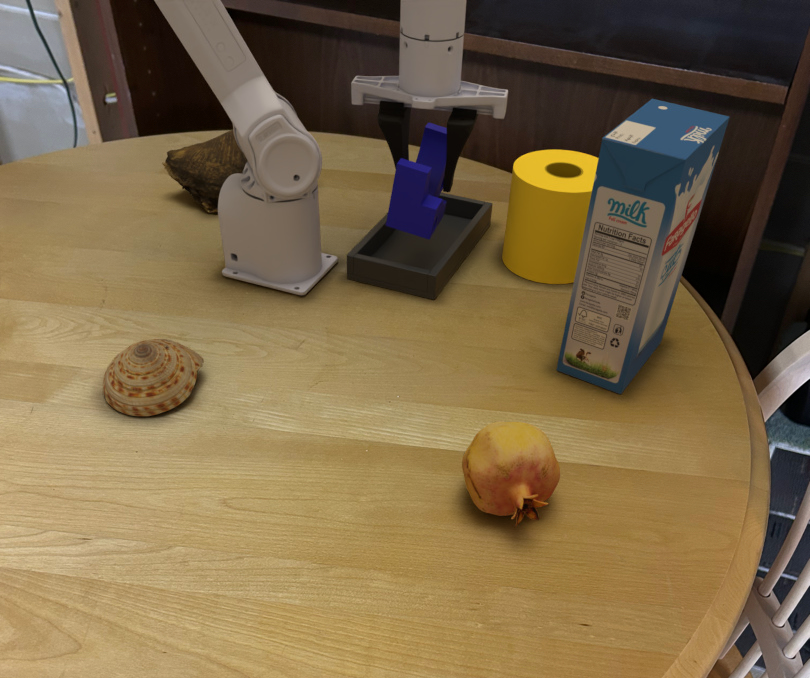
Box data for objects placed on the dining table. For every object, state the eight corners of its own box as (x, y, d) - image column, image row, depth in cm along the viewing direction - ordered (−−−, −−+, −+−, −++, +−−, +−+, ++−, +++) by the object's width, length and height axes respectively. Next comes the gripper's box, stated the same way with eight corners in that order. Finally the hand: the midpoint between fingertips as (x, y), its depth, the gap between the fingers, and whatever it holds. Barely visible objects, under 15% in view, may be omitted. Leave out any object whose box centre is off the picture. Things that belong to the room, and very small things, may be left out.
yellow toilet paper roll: (607, 250, 88) (626, 161, 81) (580, 293, 81) (599, 201, 74) (520, 229, 90) (532, 142, 83) (488, 269, 84) (498, 178, 77)
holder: (346, 278, 82) (346, 254, 80) (412, 208, 93) (412, 186, 91) (434, 300, 80) (435, 276, 78) (490, 225, 91) (492, 202, 89)
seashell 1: (221, 342, 70) (172, 357, 63) (217, 404, 72) (170, 426, 65) (137, 323, 71) (80, 336, 64) (137, 385, 74) (82, 404, 67)
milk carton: (620, 395, 70) (685, 159, 55) (555, 370, 72) (602, 137, 57) (661, 342, 76) (730, 116, 61) (600, 321, 78) (652, 98, 63)
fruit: (440, 403, 59) (475, 494, 52) (530, 375, 59) (577, 462, 52) (456, 469, 64) (490, 559, 57) (539, 443, 64) (583, 531, 57)
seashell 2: (297, 165, 99) (297, 111, 93) (317, 213, 95) (319, 159, 89) (162, 180, 95) (154, 124, 89) (178, 230, 91) (170, 175, 85)
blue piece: (429, 239, 78) (443, 178, 73) (385, 225, 78) (396, 163, 74) (456, 193, 86) (470, 135, 82) (416, 180, 86) (428, 122, 82)
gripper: (341, 38, 69) (346, 194, 79) (509, 53, 68) (492, 210, 78) (359, 15, 74) (361, 165, 84) (516, 28, 73) (499, 180, 83)
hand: (425, 185), depth 81 cm, fingers closed on blue piece, 4 cm apart
